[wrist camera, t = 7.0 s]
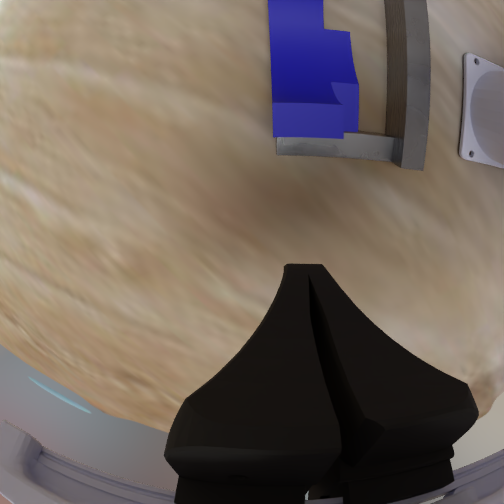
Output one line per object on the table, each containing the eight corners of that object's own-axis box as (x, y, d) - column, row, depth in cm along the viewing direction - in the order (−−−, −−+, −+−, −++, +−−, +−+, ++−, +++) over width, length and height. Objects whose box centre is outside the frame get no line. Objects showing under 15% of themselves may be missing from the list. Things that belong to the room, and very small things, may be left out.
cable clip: (344, 125, 17) (376, 141, 11) (272, 123, 17) (273, 137, 12) (336, -39, 10) (359, -80, 5) (265, -43, 11) (261, -89, 6)
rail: (393, -64, 8) (409, -79, 6) (403, 158, 17) (423, 170, 14) (269, -81, 9) (268, -103, 6) (276, 150, 18) (277, 160, 15)
